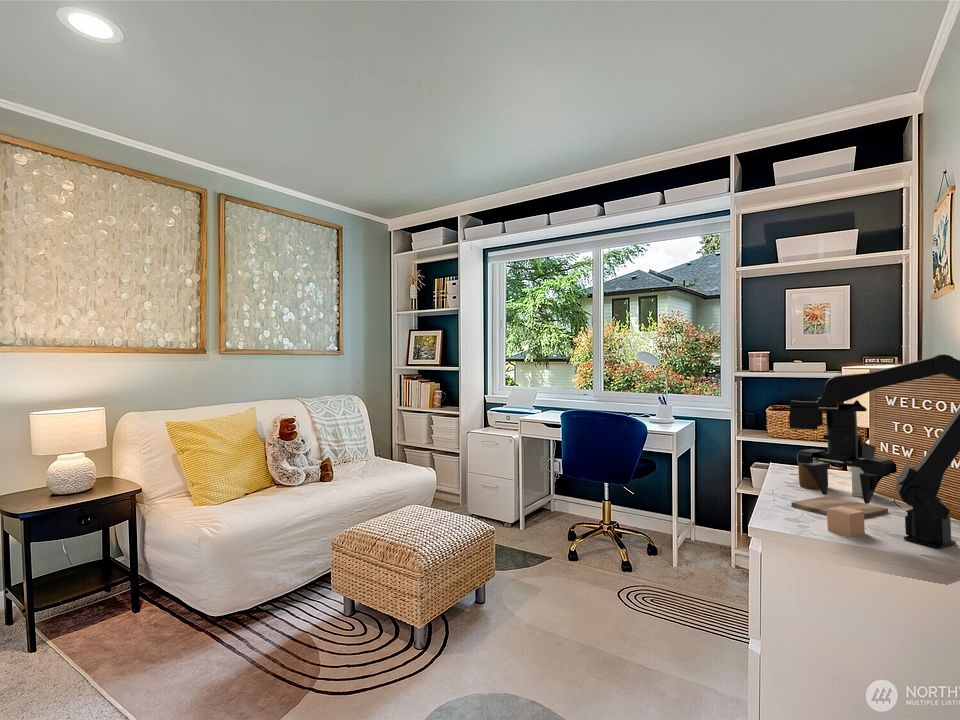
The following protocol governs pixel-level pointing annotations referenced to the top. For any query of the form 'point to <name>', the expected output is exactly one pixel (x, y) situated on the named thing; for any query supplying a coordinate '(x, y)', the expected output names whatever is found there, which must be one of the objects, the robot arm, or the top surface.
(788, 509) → the top surface
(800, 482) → the mug
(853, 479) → the skincare box
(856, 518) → the terracotta cube
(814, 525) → the top surface
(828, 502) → the walnut board
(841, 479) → the top surface
